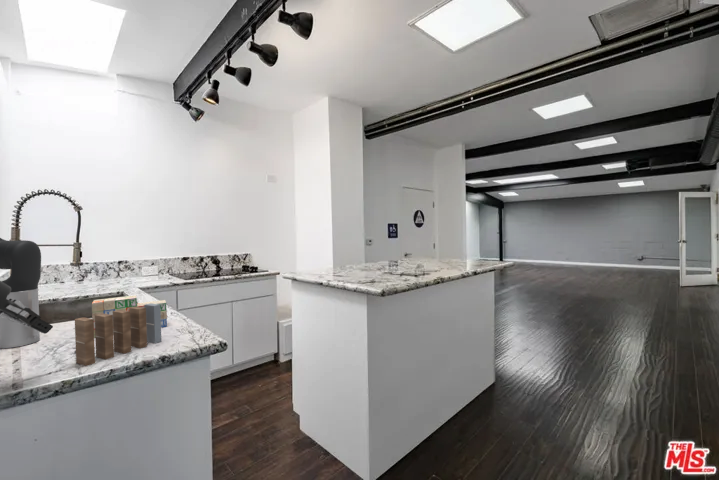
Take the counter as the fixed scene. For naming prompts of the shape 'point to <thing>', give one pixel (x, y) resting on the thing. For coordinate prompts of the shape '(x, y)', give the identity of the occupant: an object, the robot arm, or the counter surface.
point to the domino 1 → (84, 341)
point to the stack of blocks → (124, 307)
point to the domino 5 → (153, 322)
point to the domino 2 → (104, 336)
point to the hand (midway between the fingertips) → (48, 329)
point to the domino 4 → (138, 327)
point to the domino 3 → (122, 331)
